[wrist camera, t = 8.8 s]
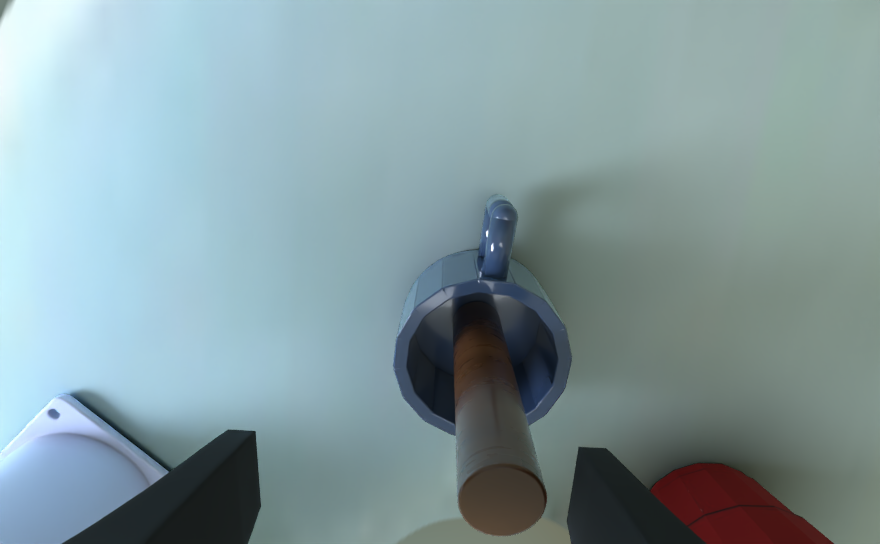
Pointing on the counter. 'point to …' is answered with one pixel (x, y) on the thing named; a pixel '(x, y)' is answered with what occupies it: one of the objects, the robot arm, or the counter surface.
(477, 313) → the stirrer
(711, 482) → the plastic cup
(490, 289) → the coffee cup
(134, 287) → the counter surface
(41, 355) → the counter surface
